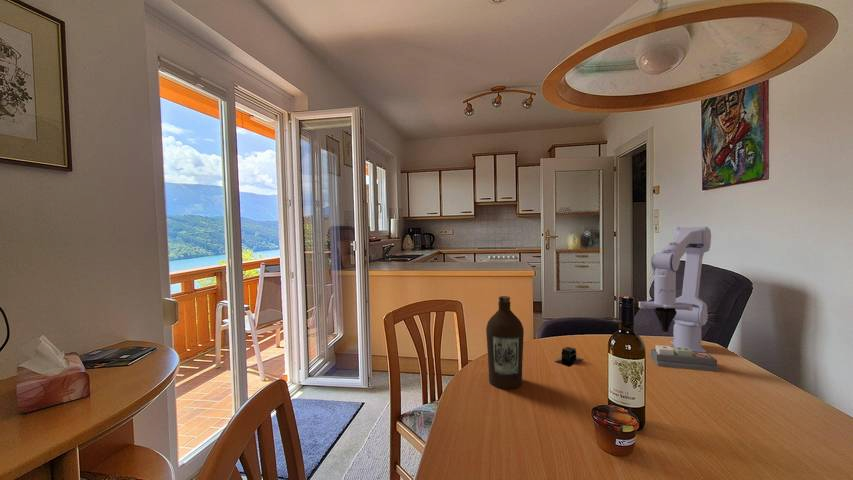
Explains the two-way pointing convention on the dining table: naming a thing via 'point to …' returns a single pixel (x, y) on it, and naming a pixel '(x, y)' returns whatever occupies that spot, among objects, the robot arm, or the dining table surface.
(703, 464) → the dining table surface
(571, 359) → the black block
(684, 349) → the key two pip
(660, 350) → the key one pip
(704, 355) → the key three pip
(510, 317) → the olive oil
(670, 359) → the keypad base
